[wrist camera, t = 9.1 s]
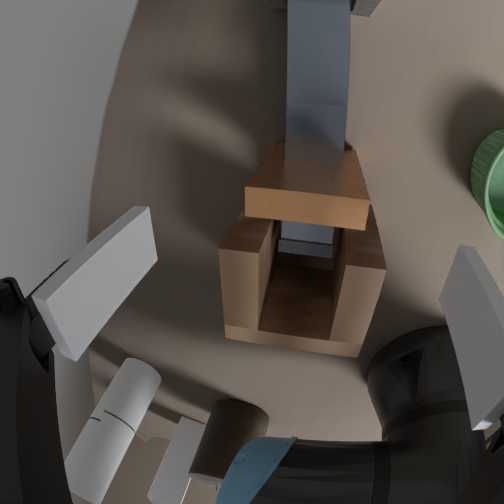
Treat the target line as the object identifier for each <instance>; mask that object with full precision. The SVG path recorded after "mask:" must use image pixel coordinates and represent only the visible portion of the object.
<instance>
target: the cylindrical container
mask: <svg viewBox="0 0 504 504" xmlns="http://www.w3.org/2000/svg"><path fill="white" fill-rule="evenodd" d="M161 381H162V379H161V376H160V374H159V373H158V372H157V371H156V370H155V369H154V368H153V367H152V366H150V365H149V364H147V363H145V362H144V361H141V360H139V359H136V358H127V359H125V361H124V362H123V364H122V365H121V367H120V369H119V370H118V372H117V373H116V375H115V377H114V378H113V380H112V382H111V383H110V385H109V386H108V388H107V390H106V391H105V393H104V395H103V396H102V398H101V400H100V401H99V403H98V405H97V406H96V408H95V410H94V412H93V413H92V415H91V417H90V419H89V420H88V422H87V423H86V425H85V427H84V429H83V431H82V432H81V434H80V436H79V437H78V439H77V441H76V443H75V445H74V446H73V448H72V450H71V451H70V453H69V455H68V457H67V459H66V460H65V462H64V466H65V471H66V476H67V481H68V486H69V490H70V491H72V492H73V493H75V494H77V495H78V496H80V497H82V498H84V499H85V500H87V501H89V502H91V503H93V504H101V502H102V500H103V497H104V495H105V493H106V491H107V489H108V487H109V485H110V483H111V481H112V479H113V477H114V475H115V473H116V471H117V468H118V467H119V465H120V463H121V461H122V458H123V457H124V454H125V452H126V450H127V448H128V446H129V444H130V442H131V440H132V438H133V436H134V434H135V432H136V430H137V428H138V426H139V424H140V422H141V420H142V419H143V417H144V415H145V413H146V411H147V409H148V407H149V405H150V403H151V401H152V399H153V397H154V395H155V393H156V391H157V389H158V387H159V385H160V383H161Z"/></svg>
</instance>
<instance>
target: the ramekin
mask: <svg viewBox="0 0 504 504" xmlns="http://www.w3.org/2000/svg"><path fill="white" fill-rule="evenodd" d="M470 177H471V187H472V191H473V194H474V196H475V199H476V201H477V202H478V204H479V206H480V207H481V209H482V210H483V211H484V213H485V215H486V217H487V219H488V222H489V224H490V225H491V227H492V229H493V230H494V232H495V233H496V234H497V235H498V236H499V237H500V238H502V239H503V240H504V129H499V130H496V131H494V132H492V133H491V134H489V135H488V136H487V137H486V138H485V139H484V140H483V141H482V142H481V144H480V145H479V146H478V148H477V150H476V152H475V155H474V157H473V161H472V165H471V175H470Z"/></svg>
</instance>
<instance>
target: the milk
mask: <svg viewBox="0 0 504 504" xmlns="http://www.w3.org/2000/svg"><path fill="white" fill-rule="evenodd" d="M205 428H206V425H205V424H202V423H200V422H197V421H194V420H191V419H189V418H186V417H184V416H182V417H181V419H180V421H179V423H178V426H177V428H176V430H175V433H174V435H173V437H172V439H171V442H170V444H169V446H168V449H167V451H166V453H165V456H164V458H163V460H162V462H161V465H160V467H159V469H158V472H157V474H156V476H155V478H154V481H153V483H152V485H151V488H150V490H149V492H148V495H147V496H148V498H149V499H150V500H151V502H152V503H153V504H181V503H182V501H183V498H184V496H185V493H186V490H187V488H188V485H189V482H190V480H191V477H190V476H189V475H188V473H189V470H190V467H191V465H192V462H193V460H194V457H195V454H196V452H197V449H198V446H199V444H200V441H201V438H202V436H203V433H204V430H205Z"/></svg>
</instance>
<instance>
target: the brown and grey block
mask: <svg viewBox="0 0 504 504" xmlns="http://www.w3.org/2000/svg"><path fill="white" fill-rule="evenodd" d="M349 59H350V0H288V46H287V106H286V141H285V143H283V142H277V144H276V145H275V146H274V148H273V149H272V150H271V152H270V153H269V154H268V156H267V157H266V158H265V160H264V161H263V162H262V164H261V165H260V167H259V168H258V169H257V171H256V172H255V173H254V175H253V176H252V177H251V179H250V180H249V182H248V183H247V184H246V186H245V216H248V217H257V218H267V219H276V220H282V231H281V234H280V237H279V245H278V252H286V253H294V254H302V255H310V256H317V257H325V258H332V255H333V249H334V227H342V228H349V229H357V230H364V231H365V226H366V221H367V216H368V210H369V204H370V198H369V195H368V191H367V187H366V184H365V180H364V177H363V173H362V170H361V166H360V163H359V160H358V157H357V153H356V150H351V149H344V140H345V129H346V115H347V101H348V83H349Z"/></svg>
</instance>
